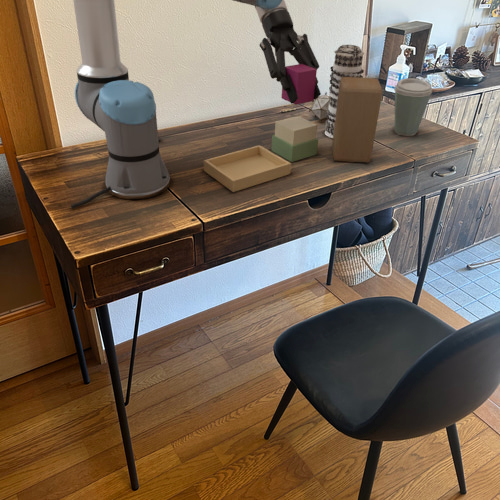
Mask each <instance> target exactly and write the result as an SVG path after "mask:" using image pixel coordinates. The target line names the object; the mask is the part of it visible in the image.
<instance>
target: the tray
mask: <svg viewBox="0 0 500 500" xmlns="http://www.w3.org/2000/svg"><path fill="white" fill-rule="evenodd" d="M291 169H292V162H291V161H289V160H287V159H285V158H284V157H282V156H280V155H278V154H277V153H275V152H273V151H271V150H269V149H267V148H266V147H263V146H262V145H260V144H259V145H255V146H251V147H248V148H247V147H246V148H245V149H240V150H237V151H232V152H229V153H226V154H222V155H219V156H215V157H211V158H210V157H209V158H207V159H204V160H203V171H204V172H205V173H206V174H208V175H209V176H210V177H212V178H213V179H215V180H216V181H217V182H218V183H220V184H222V185H223V186H224V187H225V188H226V189H228V190H229V191H231V192H233V193H235V192H239V191H241V190H245V189H247V188H250V187H254V186H258V185H260V184H263V183H266V182H267V183H268V182H270V181H272V180H276V179H279V178H282V177H286V176H287V175H288V176H289V175H291Z"/></svg>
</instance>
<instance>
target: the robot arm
mask: <svg viewBox="0 0 500 500" xmlns="http://www.w3.org/2000/svg"><path fill="white" fill-rule="evenodd" d="M72 1H73V7H74V14H75V21H76V22H75V23H76V29H77V36H78V42H79V48H80V56H81V64H80V65H79V66H78V68H76V77H77V82H76V84H75V87H74V98H75V103H76V105H77V108H78V109H79V111H80V112H81V114H82V115H83V116H84V117H85V118H86V119H88V120H89V121H90V122H92V123H93V124H94V125H96V126H97V127H98V128H99V129H100V130H102V131H103V133H104V134H105V140H106V146H107V152H108V161H107V167H106V172H105V179H104V180H105V181H104V182H105V188H103V189H102V190H100V191H98V192H96V193H94V194H92V195H90V196H89V197H87V198H86V199H83V200H81V201H79V202H76V203H72V204H70V207H71V209H75V208H77V207H81V206H84V205H86V204H88V203H90V202H92V201H93V200H95V199H96V198H98V197H100V196H102V195H104V194H106V193H108V194H110V195H111V196H113V197H116V198H119V199H122V200H123V199H124V200H143V199H149V198H152V197H156V196H158V195H160V194H162V193H164V192H165V191H167V190H168V188H169V187H170V185H171V177H170V173H169V171H168V169H167V165H166V163H165V161H164V159H163V158H162V155H161V151H160V142H159V141H158V139H159V131H158V120H157V119H158V118H157V104H156V101H155V96H154V92H153V91H152V89H151V88H150V87H149V86H147V85H146V84H144V83H142V82H139V81H134V80H130V76H129V68H128V67H127V66H126V65H124V63H122V61H121V53H120V43H119V33H118V23H117V14H116V5H115V0H72ZM232 1H234V2H237V3H241V4H246V5H249V6H254V8H255V10H256V14H257V16H258V19H259V22H260V23H261V26H262V29H263V32H264V34H265V37H263V38H262V40H261V42H259V47H260V49H261V51H262V53H263V55H264V56H263V57H264V58H265V62H266V65H267V70H268V72H269V75H270V78H271V79H274V80H275V81H276V82H278V83H280V85H281V89H282V88H283V90H284V91H286V92H287V95H288V97H289V100H290V102H289V103H290V104H291V105H292V104H293V103H294V102H295V101H296V100H297V99H298V96H297V93H296V91H295V88H294V86H293V83H292V80H291V78H290V75H286V68H285V66H286V57H285V56H286V55H285V53H289V55H290V56H292V57H293V58H294V60H295V61H296V62H297V64H304V65H306V66H309V67H312V68H314V69H317V70H318V69H319V68H320V64H319V62H318V60H317V58H316V56H315V52H314V51H313V48H312V47H311V45H310V43H309V38H308V37H309V36H308V34H307V33H303V34H302V35H301V34H300V35H299V34H298V33H297V32H296V31H295V29H294V21H293V20H292V16H291V15H290V12H289V11H288V6H287V3H286V1H285V0H232ZM273 49H274V51H273ZM318 84H319V80H318V77H317V76H316V82H315V92H314V101H315V99H317V98H318V97H320V96H322V93H321V90H320V88H319V85H318ZM293 105H294V104H293Z"/></svg>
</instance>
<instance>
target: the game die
mask: <svg viewBox="0 0 500 500" xmlns="http://www.w3.org/2000/svg"><path fill="white" fill-rule="evenodd" d="M327 94H328V93H327V91H326V92H325V93H324V94H322V95H320V96H319V97H318V98H317V99H315V100H314V101H311V102H312V106H311V109H308V112H311V113H312V114H313V115H314V118H316V117H317V119H318V120H319V123H322V121H323V120H325V119H327V115H328V114H327V110H329V109H328V108H329V104H330V98H331V97H330V96H329V95H327Z"/></svg>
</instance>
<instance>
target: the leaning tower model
mask: <svg viewBox="0 0 500 500" xmlns="http://www.w3.org/2000/svg"><path fill="white" fill-rule="evenodd" d="M333 52H334V54H335V55H334V62H333V65H332V66H330V68H329V69H330V72H331V73H330V75H329V78H330V79H329V84H330V86H329V88H328V89H329V91H328V96H329V98H330V104H329V108H328V109H329V110H327V114H328V115H327V118H326V119H327V120H325V126H324V129H325V131H324V134H325V136H327V137H328V138H330V139H333V134H334V126H335V118H336V109H337V101H338V93H339V85H340V80H341V78H343V77H358V78H364V76H363V75H362V74H363V73H364V72H365V70H364V69H363V57H364V54H365V53H364V51H363V50H362V48H361V47H360V46H358V45H356V44H342V45H340V46H339V47H337V49H336V50H334V51H333Z"/></svg>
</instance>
